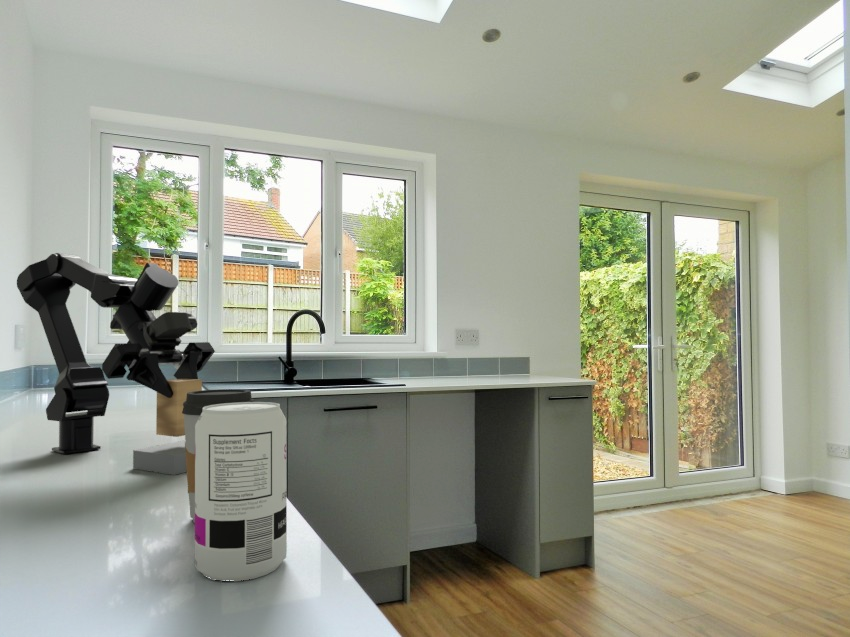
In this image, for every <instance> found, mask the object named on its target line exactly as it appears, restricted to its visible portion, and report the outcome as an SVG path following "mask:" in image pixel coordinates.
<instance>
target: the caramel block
mask: <svg viewBox="0 0 850 637" xmlns="http://www.w3.org/2000/svg"><path fill="white" fill-rule="evenodd" d="M166 380H167V381H168V383H169V385H170V387H171V389H172V391H173V395H172V397H171V398H168V397H166V396H164V395H162V394H160V393H158V392H156V431H155V432H156V435H157V436H166V437H174V438H177V437H183V436H184V437H185V426H184V414H183V413H182V411H183V407H184V406H183V402H185V401H186V398H187V393H188V392H192V391H201V390H202V389H203V388H202V387H203V379H201V378H198V379H177V378H173V379H166Z"/></svg>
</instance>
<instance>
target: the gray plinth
mask: <svg viewBox="0 0 850 637" xmlns="http://www.w3.org/2000/svg"><path fill="white" fill-rule="evenodd" d="M185 442H186V441H185V440H181V441H174V442H169V443H164V444H159V445H153V446H149V447H143V448H137V449H134V450H133V449H132V450H133V451H132V452H133V453H132V454H133V455H132V460H133V461H132V468H133V470H141V471H146V470H147V472H152V471H154V472H153V473H158V472H159V474H165V475H166V474H167V475H172V476H175V475H179V474H184V473H187V469H186V454H185Z"/></svg>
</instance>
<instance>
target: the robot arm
mask: <svg viewBox="0 0 850 637" xmlns="http://www.w3.org/2000/svg"><path fill="white" fill-rule="evenodd" d="M76 285H78V286H80V287H82V288H83V289H85V290H87V291H89V292H90V298H91V300H93V301H94V302H95V304H97V305H98V306H100V307H101V308H105V309H106V308H109V309H117V310H115V313H114V314H113V315H112V320H111V322H110V326H109V328H110V329H111V330H122V332H123V333H124V334H125V337H126V338H127V339H128V341H127V343H114V345H113V346H112V349H110V351H109V353H108V354H107V356H106V357H105V359H104V360H103V362H102V365H101V367H100V366H93V367H92V366H90V365H89V364H88V363H87V359H86V357H85V354H84V352H83V348H82V346H81V343H80V340H79V338H78V334H77V332H76V329H75V326H74V323H73V321H72V318H71V315H70V312H69V310H68V307H67V302H68V300H69V297H70V294H71V289H72V288H73V287H74V286H76ZM178 286H179V280H178V278H177V276H176V275H174V274H173V273H171V272H169V271H168V270H166V269H164V268H161V267H160V266H159V265H158V263H154V262H153V263H151V262H146V264H145V265H144V267H143V269H142V271H141V273H140V275H139V276H138V278H135V277H128V276H123V275H117V274H111V273H110V272H108V271H105V270H104V269H102V268H100V267H97V266H95V265H93V264H92V263H90V262H88V261H86V260H84V259H82V258H81V257H80V256H78V255H76V254H70V253H69V254H68V253H59V252H56V253H51V254H50V255H49V256H47V258H45V259H42V260H40V261H37V262H34V263H31V264H29V265H28V266H26V267H25V269H24V270H22V272H20V273H19V274H18V275H17V279H16V287H17V289H18V290H19V293H20V295H21V297H22V299H23V301H24V303H25V304H27V305H28V306H29V307H31V309H33V310H34V311H36V312H37V313H38V315H39V318H40V322H41V324H42V328H43V330H44V333H45V336H46V338H47V343H48V345H49V347H50V350H51V354H52V357H53V360H54V361H55V362H54V363H55V366H56V367H57V372H58V377H57V379H56V381H55V385H54V386H53V387H54V388H53V389H54V395H53V397H52V399H51V400H50V402H49V403H48V405H47V407H46V408H45V413H46V419H47V421H51V422H52V421H54V422H58V446H55V447H52V448H51V451H52V452H53V451H54V452H56V453H60V454H63V455H65V454H66V455H67V454H74V453H81V452H87V451H94V450H100V449H102V448H101V446H100V445H97V444H94V425H95V424H94V421H95V420H94V418H96V417H105V415H106V412H107V407H108V403H109V399H110V389H109V387H108V385H109V383H108V381H107V380H106V378H107V379H109V380H110V379H122V378H124V377H125V375H126V374H127V370H126V368H125V367H127V368H128V371H129V372H128V374H127V375H126V379H127V381H133V382H135V383H137V384H140V385H141V386H144V387H147V388H149V389H150V390H152V391H154V392H156V393H157V392H158V393H160V394H162V395H164V396H166V397H168V398H171V397H172V395H173V391H172V389H171V387H170V385H169V383H168V381H167V380H168V379H167V378H166V376H165V375H164V372H163V371H162V369H161V368H160V366H164V365H165V366H166V365H172V366H173V367H174V368H175V370H176V371H175V372H174V374H173V377H174V379H199V377H198V373H199V372H201V371H202V370H203V369H204V367H205V366H206V364H207V363H208V362H209V360H210V359H211V358H212V356H213V355H214V353H215V352H216V351H215V348H214V347H213V345H212V344H211V343H210V342H209V341H207V342H205V341H204V342H199V341H197V342H196V341H195V342H189V343H188V344H187V345H186V347H185V348H184V350H182V351H181V350H180V349H176V347H179V346H180V344H181V343H182V340H181V338H182V337H183V336H184V335H185V334H188V333H190V332H192V331H194V330H195V329H196V328H197V327H198V322H197V318H196V317H195V316H194V315H193V314H192V312H191V311H190V312H189V311H188V312H187V311H186V312H185V311H183V312H181V311H167V312H164V313H162V314H161V315H160V316H158V317H156V316H155V315H154V314H155V313H154V312H153V311H160V310H163V309H164V307H165V305H166V304H167V302H168V301H169V299H170V298H171V296H172V295H173V294H174V292H175V291H176V289H177V287H178ZM105 377H106V378H105Z"/></svg>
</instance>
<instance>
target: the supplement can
mask: <svg viewBox="0 0 850 637" xmlns="http://www.w3.org/2000/svg"><path fill="white" fill-rule="evenodd" d="M280 405H281V404H280V403H277V402H268V401H267V402H266V401H265V402H264V401H254V402H238V403H224V404H216V405H210V406H205V407H203V412H202V413H201V415H200V417H199V419H198V421H197V423H196V425H195V523H194V567H195V568H196V571H198V572H200V573H202V575H203V574H204V575H203V576H207V577H210V578H211V579H216V580H225V581H226V580H229V581H230V580H234V582H242V581H243V580H244V581H248V580H249V579H250V580H255V579H257V578H261V577H264V576H267V575H268V574H270V573H272V572H274V571H275V570H276V569H278V568H279V567H280V565H281V563H283V561H284V560H285V559H286V558H287V551H288V550H287V548H288V546H287V544H288V543H287V528H288V527H287V522H288V521H287V517H288V516H287V512H288V511H287V510H288V509H287V508H288V507H287V417H286V416H285V415H284V412H283V410H282V409H281V407H280ZM211 579H210V580H211ZM241 580H242V581H241ZM244 581H243V582H244Z"/></svg>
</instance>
